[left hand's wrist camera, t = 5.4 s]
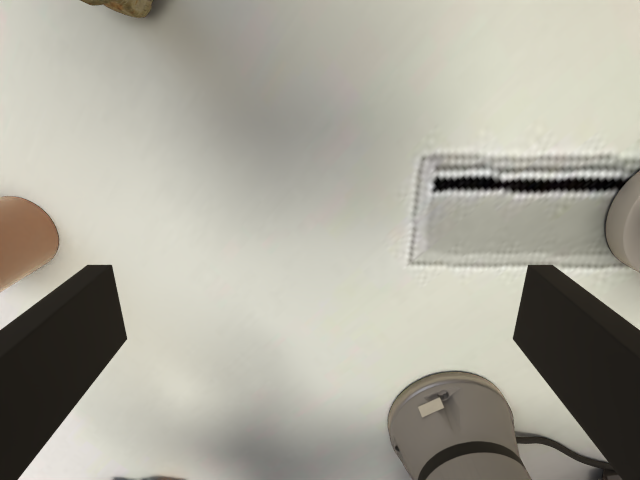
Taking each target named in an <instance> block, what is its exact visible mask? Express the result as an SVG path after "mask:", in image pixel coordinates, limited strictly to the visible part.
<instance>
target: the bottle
mask: <svg viewBox="0 0 640 480" xmlns="http://www.w3.org/2000/svg"><path fill="white" fill-rule="evenodd" d="M58 242H59V240H58V233H57V230H56V227H55V225H54V223H53V222H52V220H51V218H50V217H49V216H48V215H47V214H46V213H45V212H44V211H43V210H42V209H41V208H40V207H38V206H37V205H35V204H34V203H32V202H30V201H28V200H25V199H23V198H19V197H13V196H5V197H0V292H2V291H3V290H5V289H7V288H8V287H10V286H11V285H13V284H15V283H16V282H18V281H19V280H21V279H22V278H24V277H26V276H27V275H29V274H30V273H32V272H34V271H35V270H37V269H38V268H40V267H41V266H43V265H45V264H46V263H48V262H49V261H50V260H51V259H52V258H53V257H54V255H55V254H56V252H57V249H58Z"/></svg>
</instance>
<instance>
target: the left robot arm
mask: <svg viewBox="0 0 640 480" xmlns="http://www.w3.org/2000/svg"><path fill="white" fill-rule="evenodd" d="M126 340H127V336H126V331H125V326H124V321H123V316H122V312H121V307H120V302H119V297H118V292H117V287H116V283H115V278H114V273H113V268H112V265H87V266H86V267H84V268H83V269H82V270H80V271H79V272H78V273H76V274H75V275H74V276H72V277H71V278H69V279H68V280H67V281H65V282H64V283H63V284H61V285H60V286H59V287H57V288H56V289H55V290H53V291H52V292H51V293H49V294H48V295H47V296H45V297H44V298H43V299H41V300H40V301H39V302H37V303H36V304H35V305H33V306H32V307H31V308H29V309H28V310H27V311H25V312H24V313H23V314H21V315H20V316H19V317H17V318H16V319H15V320H13V321H12V322H11V323H9V324H8V325H7V326H5V327H4V328H3V329H1V330H0V480H18V479H19V477H20V476H21V475H22V473H23V472H24V471H25V470H26V468H27V467H28V466H29V464H30V463H31V462H32V461H33V459H34V458H35V457H36V455H37V454H38V453H39V452H40V450H41V449H42V448H43V446H44V445H45V444H46V443H47V441H48V440H49V439H50V437H51V436H52V435H53V434H54V432H55V431H56V430H57V428H58V427H59V426H60V425H61V423H62V422H63V421H64V419H65V418H66V417H67V416H68V414H69V413H70V412H71V410H72V409H73V408H74V407H75V405H76V404H77V403H78V401H79V400H80V399H81V398H82V396H83V395H84V394H85V392H86V391H87V390H88V389H89V387H90V386H91V385H92V383H93V382H94V381H95V380H96V378H97V377H98V376H99V374H100V373H101V372H102V371H103V369H104V368H105V367H106V365H107V364H108V363H109V362H110V360H111V359H112V358H113V356H114V355H115V354H116V353H117V351H118V350H119V349H120V347H121V346H122V345H123V344H124V342H125V341H126ZM513 340H514V341H515V342H516V344H517V345H518V346H519V347H520V349H521V350H522V351H523V353H524V354H525V355H526V356H527V358H528V359H529V360H530V362H531V363H532V364H533V365H534V367H535V368H536V369H537V371H538V372H539V373H540V374H541V376H542V377H543V378H544V380H545V381H546V382H547V383H548V385H549V386H550V387H551V389H552V390H553V391H554V392H555V394H556V395H557V396H558V398H559V399H560V400H561V401H562V403H563V404H564V405H565V407H566V408H567V409H568V410H569V412H570V413H571V414H572V416H573V417H574V418H575V419H576V421H577V422H578V423H579V425H580V426H581V427H582V428H583V430H584V431H585V432H586V434H587V435H588V436H589V437H590V439H591V440H592V441H593V443H594V444H595V445H596V446H597V448H598V449H599V450H600V452H601V453H602V454H603V455H604V457H605V458H606V459H607V461H608V462H609V463H610V464H611V466H612V467H613V468H614V470H615V471H616V472H617V473H618V475H619V476H620V477H621V479H622V480H640V330H639V329H637V328H636V327H635V326H633V325H632V324H631V323H629V322H628V321H627V320H625V319H624V318H623V317H621V316H620V315H619V314H617V313H616V312H615V311H613V310H612V309H611V308H609V307H608V306H607V305H605V304H604V303H603V302H601V301H600V300H599V299H597V298H596V297H595V296H593V295H592V294H591V293H589V292H588V291H587V290H585V289H584V288H583V287H581V286H580V285H579V284H577V283H576V282H575V281H573V280H572V279H571V278H569V277H568V276H566V275H565V274H564V273H562V272H561V271H560V270H558V269H557V268H556V267H554V266H553V265H528V268H527V273H526V278H525V283H524V287H523V292H522V297H521V302H520V307H519V312H518V316H517V321H516V326H515V331H514V336H513Z"/></svg>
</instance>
